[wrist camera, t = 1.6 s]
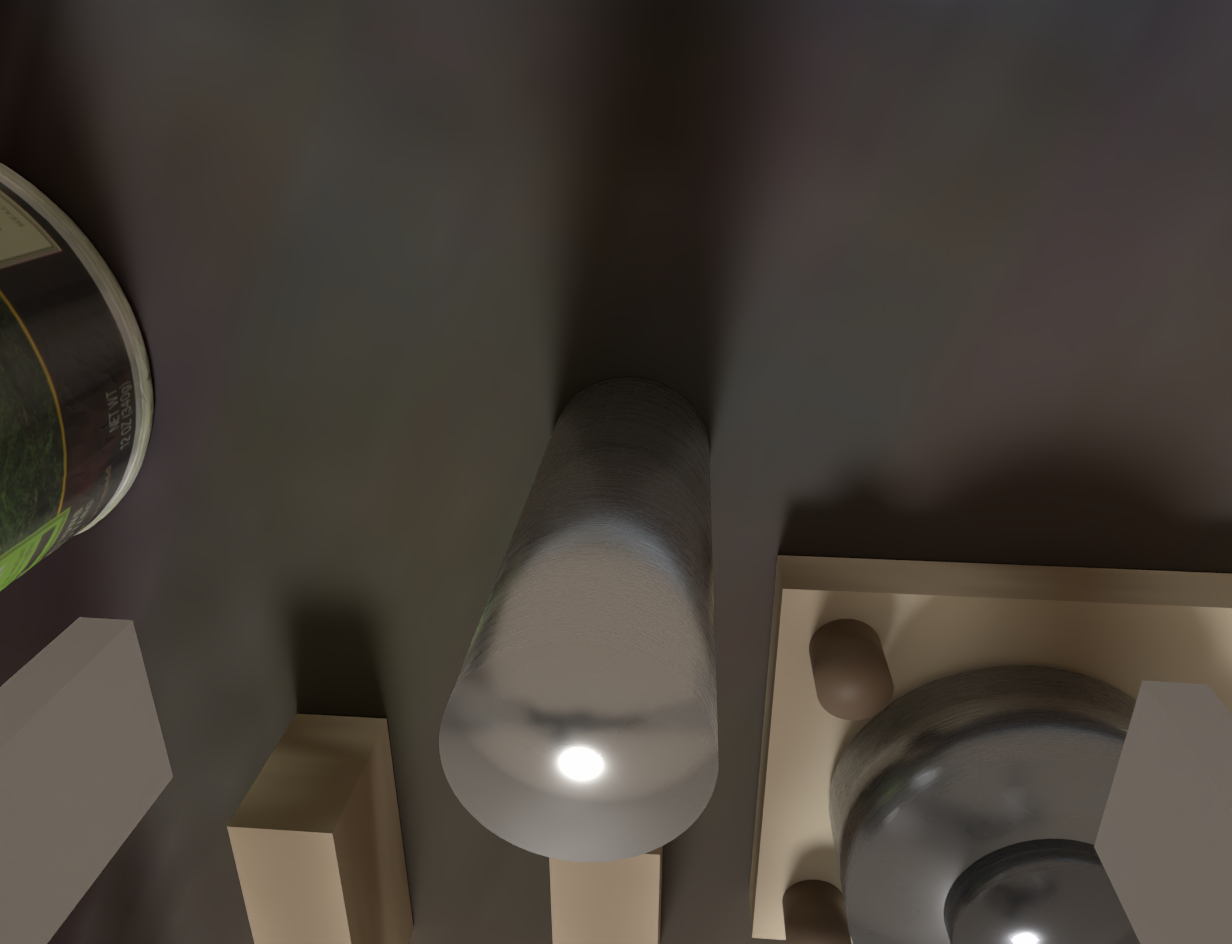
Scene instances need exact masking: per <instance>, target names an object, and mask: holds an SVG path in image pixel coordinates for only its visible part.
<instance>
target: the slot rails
mask: <svg viewBox="0 0 1232 944" xmlns="http://www.w3.org/2000/svg"><path fill="white" fill-rule="evenodd" d="M227 828H228V832H229V837H230V841H231V845H232V850H233V854H234V858H235V862H236V867H237V871H238V875H239V880H240V884H241V888H242V892H243V897H244V901H245V905H246V909H247V914H248V918H249V922H250V927H251V931H252V935H253V939H254V944H409V941H410V938H411V935H412V932H413V929H414V927H413V919H412V911H411V904H410V896H409V888H408V880H407V873H406V865H405V857H404V849H403V842H402V834H401V826H400V819H399V811H398V803H397V795H396V788H395V780H394V772H393V764H392V757H391V749H390V741H389V734H388V726H387V719H383V718H365V717H347V716H329V715H311V714H296V715H295V717H294V718H293V720H292V721H291V723H290V725H289V726H288V728H287V730H286V731H285V733H284V734H283V736H282V738H281V739H280V741H279V743H278V744H277V746H276V748H275V749H274V751H273V752H272V754H271V756H270V757H269V759H268V761H267V762H266V764H265V766H264V767H263V769H262V770H261V772H260V774H259V775H258V777H257V779H256V780H255V782H254V783H253V785H252V787H251V788H250V790H249V792H248V793H247V795H246V797H245V798H244V800H243V801H242V803H241V805H240V806H239V808H238V810H237V811H236V813H235V814H234V816H233V818H232V819H231V821H230V823H229V824H228V826H227ZM662 853H663V846H661V847H659V848H657V849H655V850H652V851H650V852H648V853H645V854H642V855H638V856H635V857H631V858H627V859H621V860H616V861H607V862H575V861H566V860H560V859H555V858H550V857H549V861H550V886H551V910H552V935H553V944H660V922H661V888H662Z"/></svg>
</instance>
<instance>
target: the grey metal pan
mask: <svg viewBox="0 0 1232 944" xmlns="http://www.w3.org/2000/svg"><path fill="white" fill-rule="evenodd" d="M1135 704H1136V700H1134V699H1133V698H1131V697H1130V696H1128V695H1127V694H1125V693H1124V692H1122V691H1121V690H1119V689H1117V688H1115V687H1113V686H1111V685H1109V684H1107V683H1105V682H1103V681H1101V680H1098V679H1095V678H1092V677H1089V676H1086V675H1084V674H1081V673H1077V672H1073V671H1068V670H1063V669H1059V668H1052V667H1043V666H1033V665H1006V666H997V667H987V668H980V669H975V670H970V671H966V672H961V673H957V674H954V675H951V676H947V677H944V678H941V679H938V680H935V681H933V682H930V683H928V684H926V685H924V686H921V687H919V688H917V689H915V690H913V691H911V692H909V693H907V694H906V695H904V696H902V697H900V698H899V699H897V700H895V701H894V702H892V703H891V704H890V705H888V706H887V707H886V708H885V709H884V710H883V711H881V712H880V713H878V714H877V715H875V716H874V717H873V718H872V719H871V720H870V721H869V722H868V723H867V724H866V725H865V726H864V727H863V728H862V729H861V730H860V731H859V732H858V733H857V735H856V736H855V737H854V738H853V740H852V741H851V742H850V743H849V745H848V747H847V748H846V750H845V752H844V753H843V755H842V757H841V758H840V760H839V763H838V765H837V768H836V770H835V773H834V775H833V779H832V783H831V788H830V793H829V816H830V823H831V830H832V835H833V841H834V847H835V853H836V859H837V864H838V870H839V876H840V882H841V888H842V893H843V899H844V905H845V911H846V917H847V922H848V928H849V933H850V936H851V939H852V942H853V944H1140V942H1139V940H1138V938H1137V936H1136V934H1135V931H1134V929H1133V927H1132V925H1131V923H1130V921H1129V919H1128V917H1127V915H1126V913H1125V911H1124V908H1123V906H1122V904H1121V902H1120V900H1119V898H1118V896H1117V894H1116V892H1115V890H1114V888H1113V885H1112V883H1111V881H1110V879H1109V877H1108V875H1107V873H1106V871H1105V869H1104V867H1103V864H1102V862H1101V860H1100V858H1099V856H1098V854H1097V852H1096V850H1095V848H1094V845H1095V841H1096V838H1097V834H1098V831H1099V827H1100V824H1101V821H1102V817H1103V814H1104V810H1105V807H1106V803H1107V800H1108V797H1109V793H1110V790H1111V786H1112V783H1113V779H1114V776H1115V773H1116V769H1117V766H1118V762H1119V759H1120V755H1121V752H1122V749H1123V745H1124V742H1125V738H1126V735H1127V731H1128V728H1129V725H1130V721H1131V718H1132V714H1133V711H1134V707H1135Z"/></svg>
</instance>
